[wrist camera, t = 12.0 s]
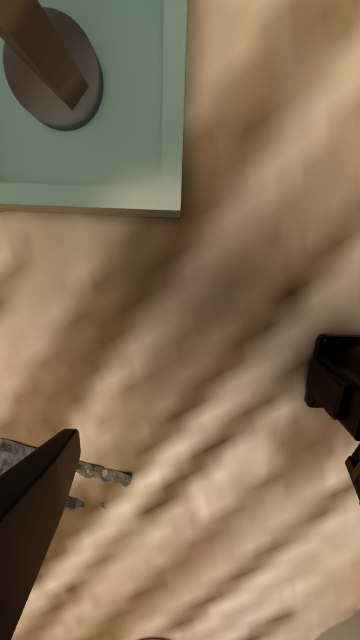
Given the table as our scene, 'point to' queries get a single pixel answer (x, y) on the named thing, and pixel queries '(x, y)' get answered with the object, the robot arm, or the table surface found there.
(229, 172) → the table surface
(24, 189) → the green square tray
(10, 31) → the brown tower block
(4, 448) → the driftwood
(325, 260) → the table surface
